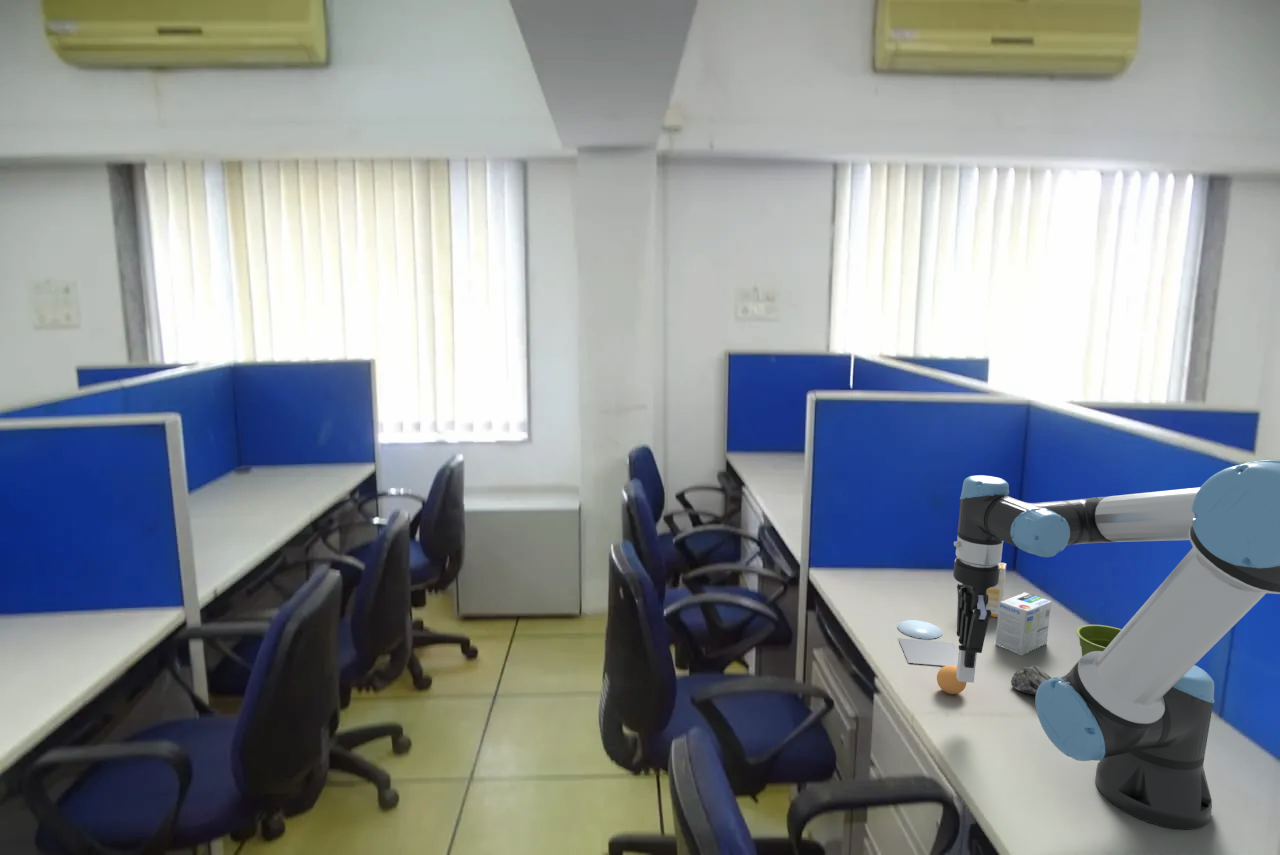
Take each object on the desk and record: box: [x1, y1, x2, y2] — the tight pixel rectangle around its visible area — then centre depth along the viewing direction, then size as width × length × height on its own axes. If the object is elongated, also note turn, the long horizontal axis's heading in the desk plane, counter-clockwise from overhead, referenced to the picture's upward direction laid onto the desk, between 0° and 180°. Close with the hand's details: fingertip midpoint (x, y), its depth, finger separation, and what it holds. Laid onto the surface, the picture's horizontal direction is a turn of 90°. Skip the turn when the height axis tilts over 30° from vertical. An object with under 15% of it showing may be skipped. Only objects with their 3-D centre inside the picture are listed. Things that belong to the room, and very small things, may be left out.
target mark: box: [898, 637, 959, 667], centre depth 164 cm, size 12×12×1 cm
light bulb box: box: [995, 591, 1052, 656], centre depth 168 cm, size 11×7×11 cm, turn 123°
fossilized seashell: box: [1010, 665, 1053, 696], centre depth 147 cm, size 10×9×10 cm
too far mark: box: [897, 619, 943, 640], centre depth 176 cm, size 10×10×1 cm
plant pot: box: [1075, 624, 1123, 658], centre depth 149 cm, size 12×12×11 cm
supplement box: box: [986, 562, 1007, 618], centre depth 185 cm, size 8×5×13 cm, turn 58°
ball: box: [936, 665, 967, 695], centre depth 147 cm, size 6×6×6 cm
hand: (964, 679), depth 137 cm, fingers closed
